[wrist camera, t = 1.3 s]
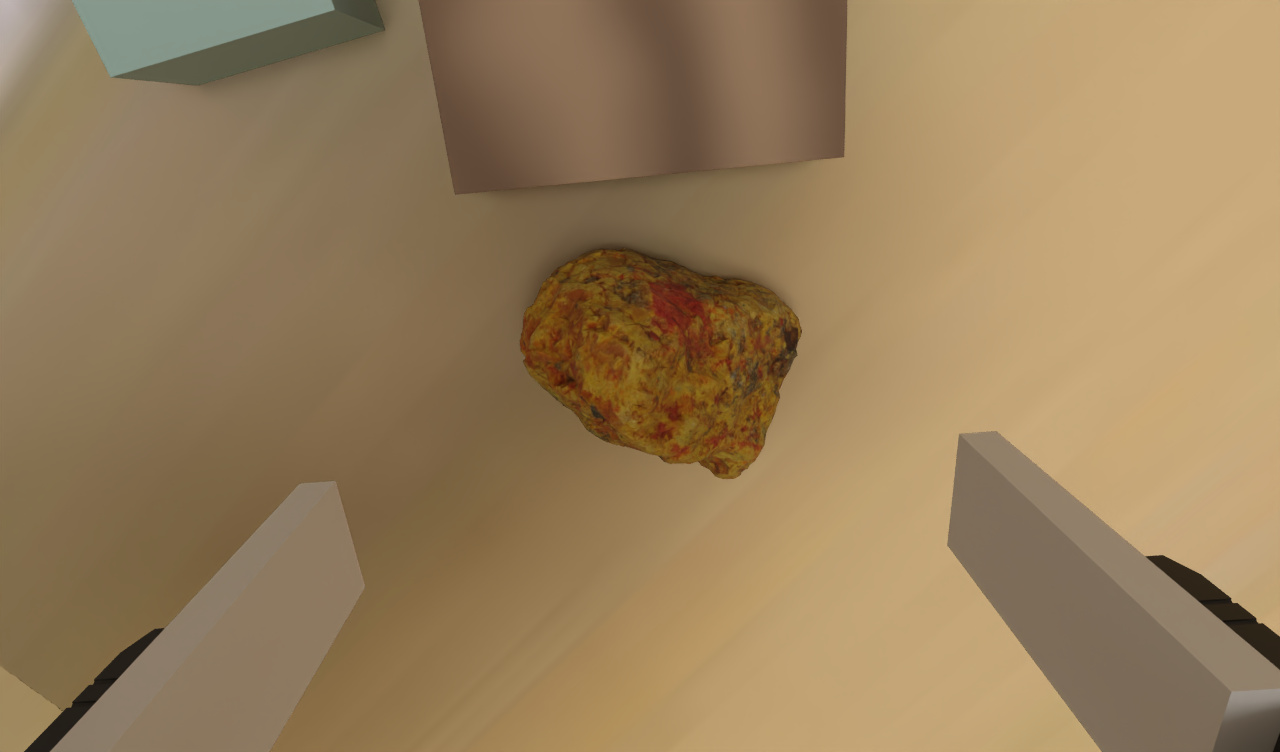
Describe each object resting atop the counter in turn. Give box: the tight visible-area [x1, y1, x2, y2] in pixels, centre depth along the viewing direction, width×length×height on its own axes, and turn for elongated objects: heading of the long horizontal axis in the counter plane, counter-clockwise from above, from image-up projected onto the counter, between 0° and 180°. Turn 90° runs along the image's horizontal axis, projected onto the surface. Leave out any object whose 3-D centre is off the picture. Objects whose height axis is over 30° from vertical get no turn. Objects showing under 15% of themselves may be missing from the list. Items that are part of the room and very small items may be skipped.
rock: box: [520, 248, 802, 479], centre depth 28 cm, size 11×8×10 cm
